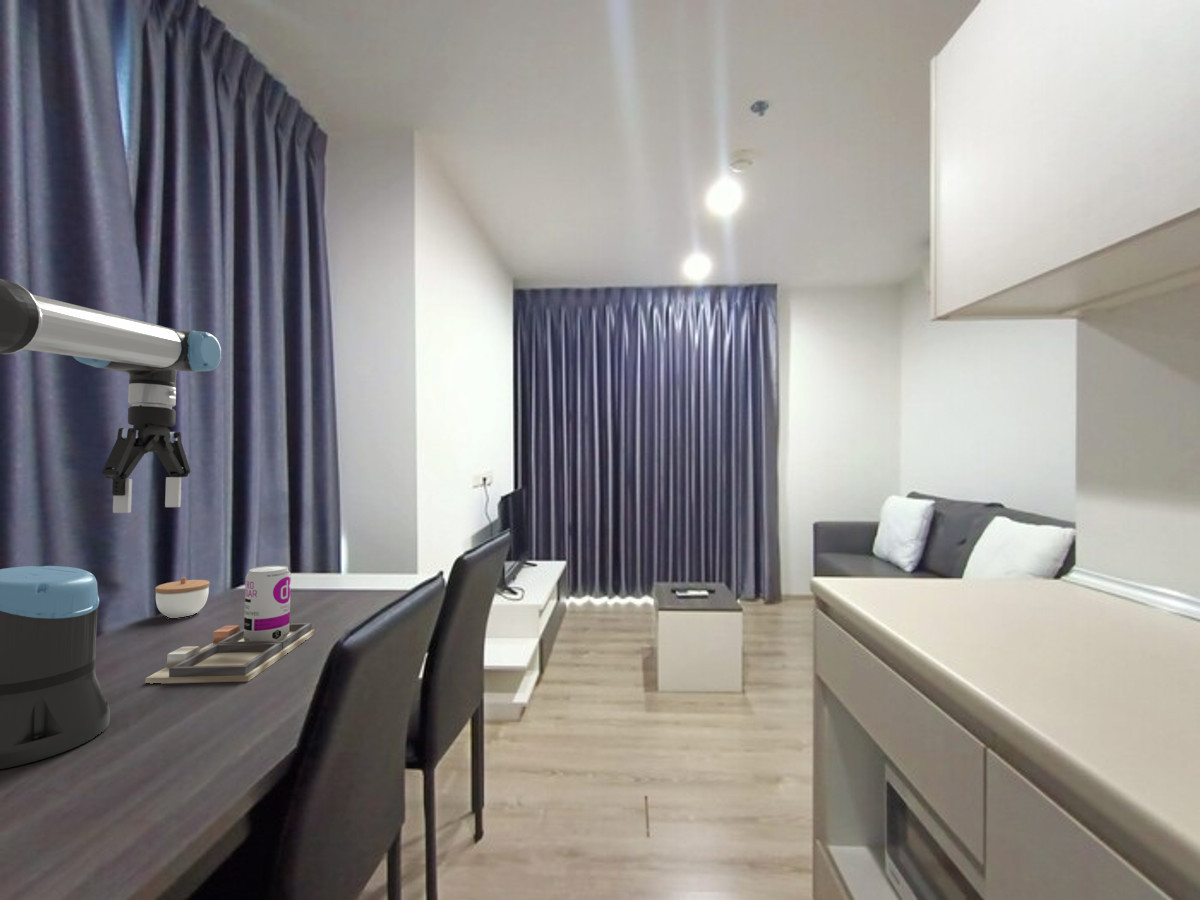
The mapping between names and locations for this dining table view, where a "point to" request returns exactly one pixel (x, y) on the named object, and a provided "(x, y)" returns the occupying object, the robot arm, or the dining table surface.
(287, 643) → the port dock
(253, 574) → the supplement can
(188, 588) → the lidded jar
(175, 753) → the dining table surface
